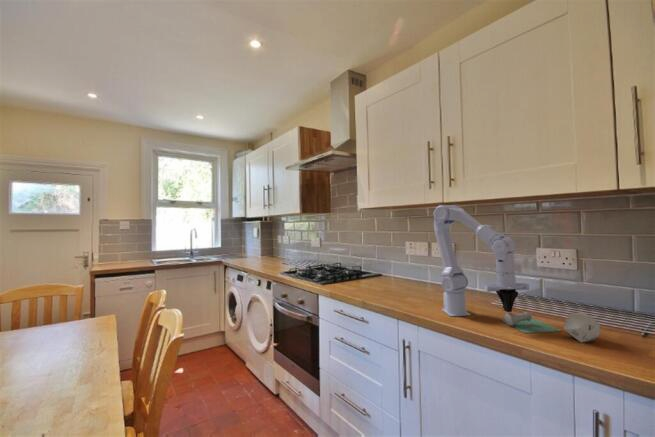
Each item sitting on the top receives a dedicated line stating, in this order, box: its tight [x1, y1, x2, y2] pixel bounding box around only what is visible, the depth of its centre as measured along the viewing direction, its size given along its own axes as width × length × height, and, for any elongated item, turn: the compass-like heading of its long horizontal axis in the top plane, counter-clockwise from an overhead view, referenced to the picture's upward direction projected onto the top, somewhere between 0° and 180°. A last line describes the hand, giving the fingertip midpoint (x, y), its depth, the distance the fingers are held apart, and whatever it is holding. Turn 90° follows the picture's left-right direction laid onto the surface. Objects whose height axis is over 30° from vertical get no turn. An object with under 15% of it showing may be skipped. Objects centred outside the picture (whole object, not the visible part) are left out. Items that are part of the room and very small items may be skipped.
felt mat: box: [500, 317, 562, 334], centre depth 106 cm, size 14×12×1 cm
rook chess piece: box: [504, 311, 533, 327], centre depth 106 cm, size 4×4×8 cm
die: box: [563, 311, 601, 343], centre depth 92 cm, size 8×9×10 cm
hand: (507, 311), depth 106 cm, fingers closed
